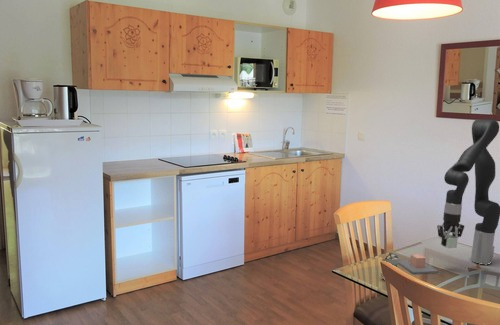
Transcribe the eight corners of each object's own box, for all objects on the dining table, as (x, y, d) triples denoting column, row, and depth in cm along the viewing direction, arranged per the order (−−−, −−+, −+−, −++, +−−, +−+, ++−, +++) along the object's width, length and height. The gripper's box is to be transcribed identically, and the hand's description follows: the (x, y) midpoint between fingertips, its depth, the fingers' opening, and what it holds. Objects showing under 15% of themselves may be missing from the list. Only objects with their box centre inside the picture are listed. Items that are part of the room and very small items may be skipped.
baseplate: (420, 261, 226) (420, 259, 226) (438, 272, 212) (438, 270, 212) (396, 262, 222) (396, 260, 222) (412, 274, 209) (412, 272, 209)
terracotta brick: (418, 263, 220) (419, 254, 220) (424, 267, 216) (425, 257, 215) (409, 263, 219) (410, 254, 218) (415, 267, 214) (416, 258, 214)
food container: (393, 283, 197) (396, 262, 196) (380, 279, 200) (382, 259, 199) (400, 274, 208) (402, 254, 206) (387, 271, 211) (389, 251, 209)
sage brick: (449, 244, 218) (450, 234, 217) (456, 247, 213) (457, 237, 212) (440, 244, 216) (441, 235, 216) (447, 248, 212) (448, 238, 211)
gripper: (459, 209, 217) (455, 242, 220) (434, 210, 214) (431, 243, 216) (470, 213, 210) (466, 247, 213) (445, 214, 206) (441, 248, 209)
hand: (448, 245), depth 215 cm, fingers closed on sage brick, 5 cm apart
